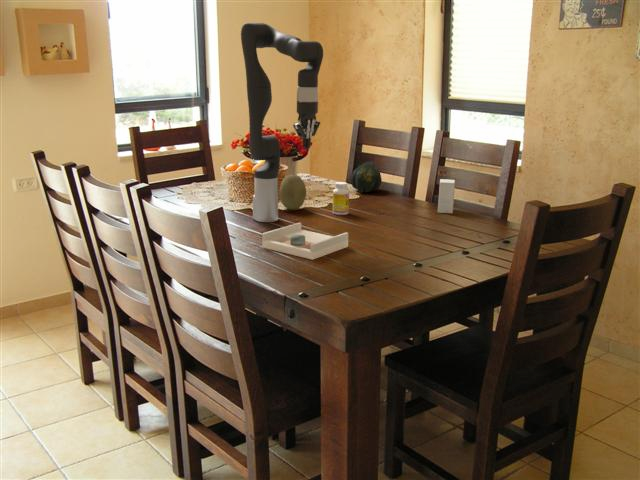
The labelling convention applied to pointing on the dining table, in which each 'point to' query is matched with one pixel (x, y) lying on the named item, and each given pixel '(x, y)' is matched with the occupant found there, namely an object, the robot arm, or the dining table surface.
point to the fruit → (292, 192)
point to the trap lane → (313, 245)
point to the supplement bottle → (341, 199)
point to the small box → (446, 196)
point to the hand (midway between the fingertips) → (306, 148)
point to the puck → (297, 240)
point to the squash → (366, 177)
